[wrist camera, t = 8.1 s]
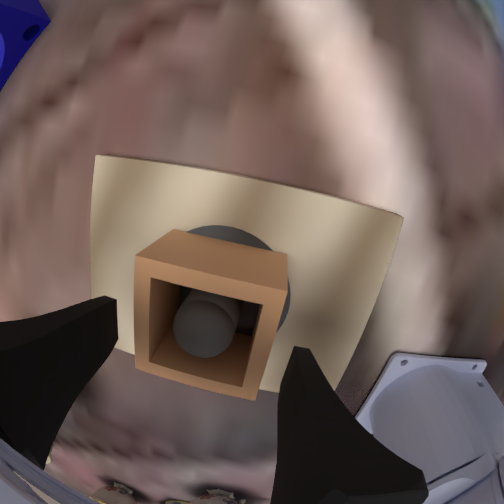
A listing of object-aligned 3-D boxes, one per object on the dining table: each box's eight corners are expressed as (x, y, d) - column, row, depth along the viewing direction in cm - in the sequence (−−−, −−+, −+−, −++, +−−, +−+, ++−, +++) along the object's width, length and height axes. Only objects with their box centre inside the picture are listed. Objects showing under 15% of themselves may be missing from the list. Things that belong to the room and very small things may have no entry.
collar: (287, 254, 14) (287, 291, 10) (262, 349, 15) (254, 400, 12) (172, 229, 14) (135, 255, 10) (164, 324, 16) (135, 367, 12)
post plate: (396, 213, 14) (449, 243, 8) (328, 389, 17) (336, 455, 12) (105, 154, 14) (37, 159, 9) (102, 332, 18) (60, 379, 13)
